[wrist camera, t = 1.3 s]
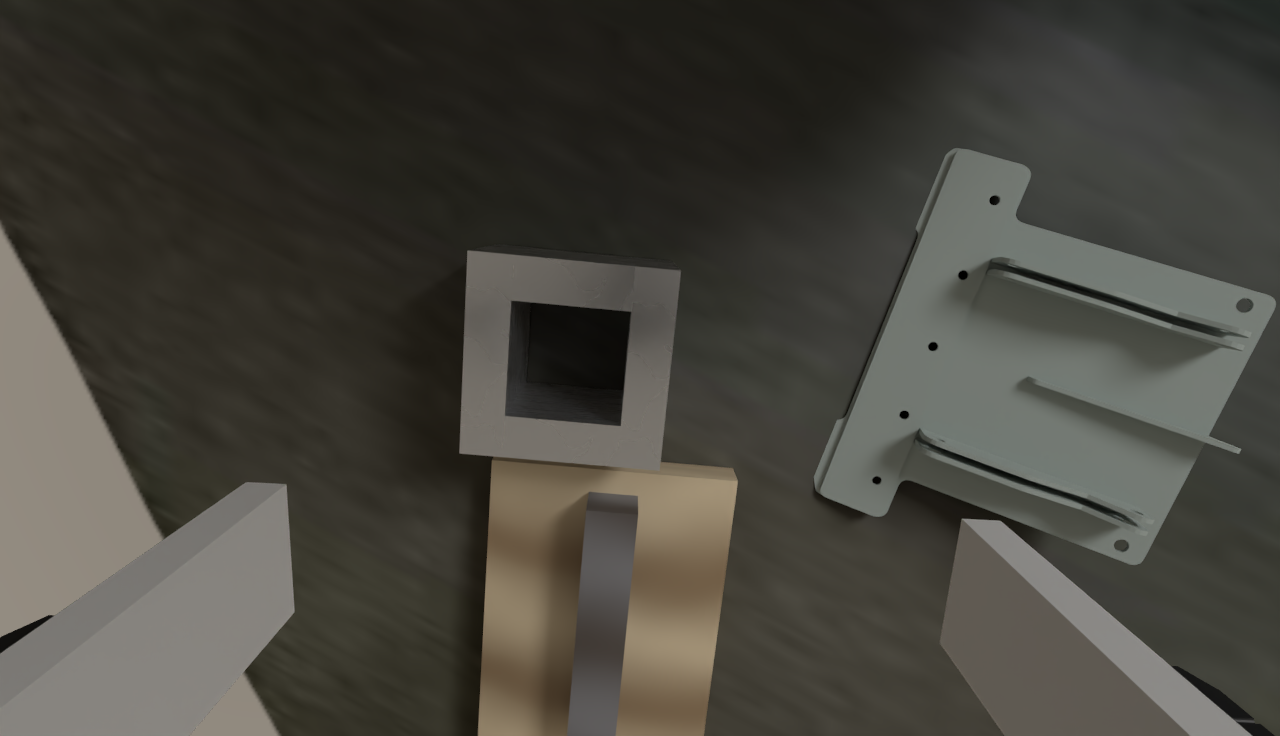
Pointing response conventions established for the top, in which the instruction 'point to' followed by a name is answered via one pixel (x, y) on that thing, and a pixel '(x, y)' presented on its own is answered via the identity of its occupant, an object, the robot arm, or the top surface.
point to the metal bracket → (1039, 372)
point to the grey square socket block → (552, 413)
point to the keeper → (602, 597)
